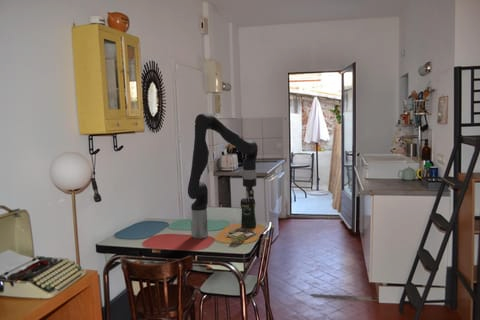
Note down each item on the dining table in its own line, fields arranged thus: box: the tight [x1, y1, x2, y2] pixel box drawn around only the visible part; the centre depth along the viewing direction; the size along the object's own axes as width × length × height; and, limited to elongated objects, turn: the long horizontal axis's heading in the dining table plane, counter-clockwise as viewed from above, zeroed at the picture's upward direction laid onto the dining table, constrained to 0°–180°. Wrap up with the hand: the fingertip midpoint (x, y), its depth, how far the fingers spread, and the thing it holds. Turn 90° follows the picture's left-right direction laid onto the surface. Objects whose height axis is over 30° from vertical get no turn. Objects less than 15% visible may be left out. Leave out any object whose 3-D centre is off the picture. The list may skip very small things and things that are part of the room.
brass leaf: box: [230, 232, 245, 245], centre depth 231 cm, size 4×7×5 cm, turn 145°
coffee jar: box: [240, 197, 257, 228], centre depth 260 cm, size 10×8×19 cm
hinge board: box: [226, 227, 257, 240], centre depth 243 cm, size 13×13×4 cm
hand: (249, 206), depth 222 cm, fingers open, 8 cm apart
